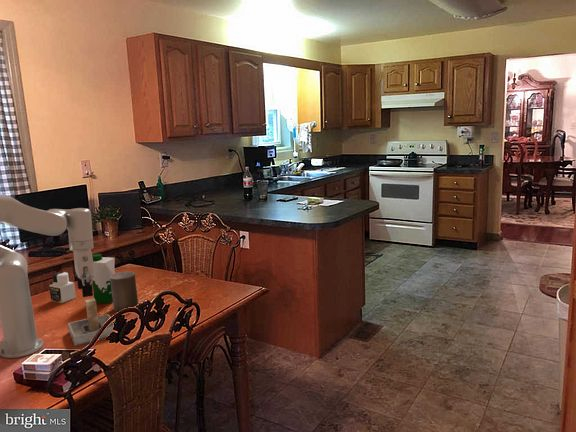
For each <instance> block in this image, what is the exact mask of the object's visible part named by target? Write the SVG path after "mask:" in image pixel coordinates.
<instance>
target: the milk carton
mask: <svg viewBox="0 0 576 432" xmlns="http://www.w3.org/2000/svg"><path fill="white" fill-rule="evenodd" d="M92 258H93V266H94V274H95V276H94V277H91V282H92V288H93V298H95V300H96V304H108V305H110V303H113V299H112V290H111V282H110V276H111V275H113V274H116V272H115V271H116V270H115V260H116V258H115V257H109V256H107V257H103V256H102V254H101V253H94V254H92Z"/></svg>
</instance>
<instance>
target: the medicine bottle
mask: <svg viewBox="0 0 576 432" xmlns="http://www.w3.org/2000/svg"><path fill="white" fill-rule="evenodd" d="M48 287H49V294H50V301H51V302H54V303H58V304H64V303H66V302H68V301H72V300H74V299H76V298H77V295H76V287H75V282H73V281H70V278H69V273H68V272H67V271H58V272H55V273H53V274H52V284H49V286H48Z"/></svg>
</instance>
